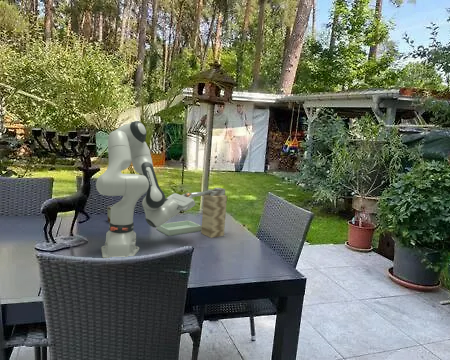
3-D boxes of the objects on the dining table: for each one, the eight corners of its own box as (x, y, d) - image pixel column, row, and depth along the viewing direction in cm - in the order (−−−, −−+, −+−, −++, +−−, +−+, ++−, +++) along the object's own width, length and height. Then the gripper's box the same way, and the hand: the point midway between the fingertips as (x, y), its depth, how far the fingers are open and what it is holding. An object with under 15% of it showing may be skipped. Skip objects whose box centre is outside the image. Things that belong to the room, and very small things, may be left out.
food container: (125, 224, 233) (125, 209, 232) (116, 225, 229) (117, 210, 227) (114, 220, 241) (115, 205, 240) (106, 221, 237) (106, 206, 236)
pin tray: (168, 236, 217) (168, 230, 216) (156, 229, 227) (156, 224, 227) (201, 231, 232) (201, 225, 232) (188, 225, 243) (189, 220, 242)
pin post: (211, 237, 220) (214, 190, 216) (201, 233, 227) (204, 187, 223) (223, 235, 226) (227, 189, 222) (213, 231, 234) (217, 186, 230)
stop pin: (187, 198, 208) (187, 193, 208) (184, 197, 210) (185, 193, 210) (212, 195, 220) (212, 191, 219) (209, 194, 222) (210, 190, 221)
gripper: (180, 206, 195) (200, 192, 202) (161, 199, 210) (179, 186, 217) (185, 216, 198) (203, 202, 205) (165, 208, 213) (183, 195, 220)
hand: (191, 194), depth 211 cm, fingers closed on stop pin, 2 cm apart
